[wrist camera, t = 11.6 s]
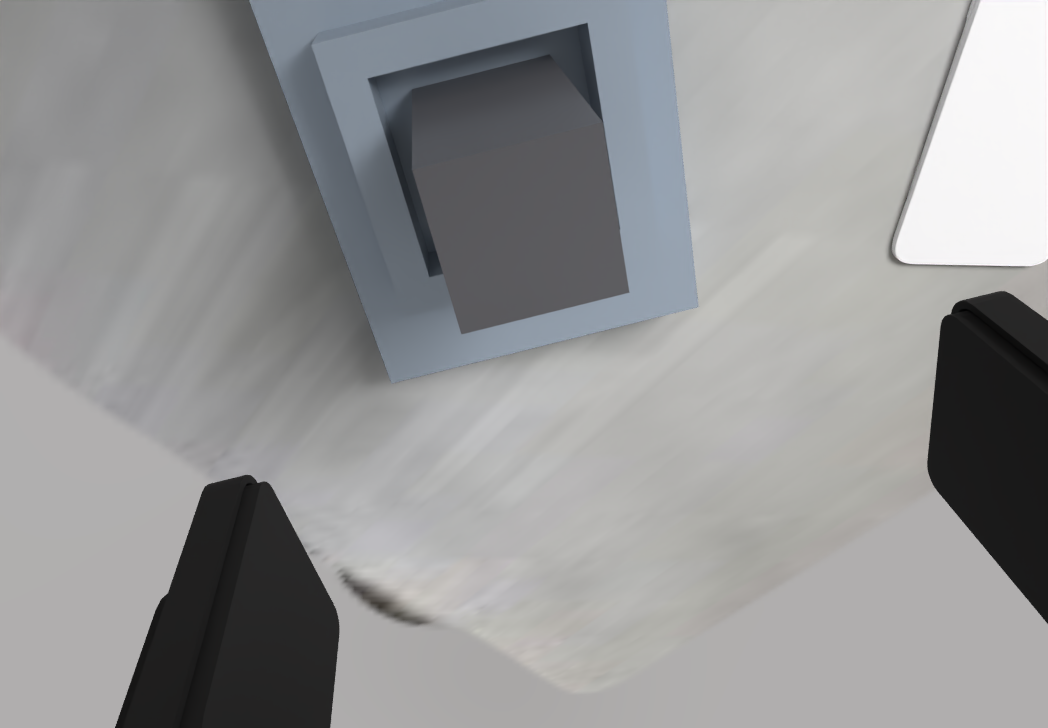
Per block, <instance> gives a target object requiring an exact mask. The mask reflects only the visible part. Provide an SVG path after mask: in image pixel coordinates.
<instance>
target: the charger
mask: <svg viewBox="0 0 1048 728" xmlns="http://www.w3.org/2000/svg"><path fill="white" fill-rule="evenodd" d="M412 171H413V175H414V178H415V181H416V185H417V188H418V191H419V195H420V198H421V201H422V205H423V208H424V211H425V215H426V218H427V221H428V225H429V228H430V231H431V235H432V238H433V241H434V245H435V248H436V252H437V255H438V258H439V262H440V265H441V268H442V272H443V275H444V278H445V282H446V285H447V288H448V292H449V295H450V298H451V302H452V305H453V308H454V312H455V315H456V318H457V322H458V325H459V328H460V332H461V335H462V334H466V333H470V332H474V331H478V330H482V329H486V328H490V327H494V326H498V325H502V324H506V323H510V322H514V321H518V320H522V319H526V318H530V317H534V316H538V315H542V314H546V313H550V312H554V311H558V310H562V309H566V308H570V307H574V306H578V305H582V304H586V303H590V302H594V301H598V300H602V299H606V298H610V297H614V296H618V295H622V294H626V293H630V292H629V286H628V280H627V273H626V267H625V261H624V254H623V248H622V242H621V235H620V229H619V223H618V216H617V210H616V204H615V197H614V191H613V185H612V178H611V172H610V166H609V159H608V153H607V146H606V140H605V134H604V127H603V122H602V121H601V119H600V118H599V117H598V116H597V114H596V113H595V112H594V111H593V109H592V108H591V107H590V105H589V104H588V103H587V102H586V100H585V99H584V98H583V96H582V95H581V94H580V93H579V91H578V90H577V89H576V88H575V86H574V85H573V84H572V82H571V81H570V80H569V79H568V77H567V76H566V75H565V73H564V72H563V71H562V70H561V68H560V67H559V66H558V65H557V63H556V62H555V61H554V59H553V58H552V57H551V56H550V54H549V55H545V56H541V57H538V58H534V59H530V60H526V61H522V62H518V63H514V64H510V65H506V66H502V67H498V68H494V69H490V70H486V71H482V72H478V73H474V74H470V75H466V76H462V77H458V78H454V79H450V80H446V81H442V82H438V83H434V84H430V85H426V86H422V87H419V88H415V89H412Z"/></svg>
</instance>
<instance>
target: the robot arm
mask: <svg viewBox="0 0 1048 728" xmlns="http://www.w3.org/2000/svg"><path fill="white" fill-rule="evenodd" d="M927 467H928V473H929V476H930V479H931V481H932V483H933V485H934V487H935V488H936V490H937V491H938V492H939V494H940V495H941V496H942V497H943V498H944V499H945V501H946V502H947V503H948V504H949V506H950V507H951V508H952V509H953V510H954V511H955V513H956V514H957V515H958V516H959V517H960V519H961V520H962V521H963V522H964V524H965V525H966V526H967V527H968V528H969V530H970V531H971V532H972V533H973V534H974V536H975V537H976V538H977V539H978V540H979V542H980V543H981V544H982V545H983V546H984V548H985V549H986V550H987V551H988V552H989V554H990V555H991V556H992V557H993V558H994V560H995V561H996V562H997V563H998V564H999V566H1000V567H1001V568H1002V569H1003V570H1004V572H1005V573H1006V574H1007V575H1008V576H1009V578H1010V579H1011V580H1012V581H1013V583H1014V584H1015V585H1016V586H1017V587H1018V588H1019V590H1020V591H1021V592H1022V593H1023V595H1024V596H1025V597H1026V598H1027V599H1028V600H1029V602H1030V603H1031V604H1032V605H1033V606H1034V608H1035V609H1036V610H1037V611H1038V613H1039V614H1040V615H1041V616H1042V617H1043V619H1044V620H1045V621H1046V622H1047V623H1048V320H1046V319H1045V318H1044V317H1042V316H1041V315H1039V314H1038V313H1037V312H1035V311H1034V310H1032V309H1031V308H1030V307H1028V306H1027V305H1026V304H1024V303H1023V302H1021V301H1020V300H1019V299H1017V298H1016V297H1014V296H1013V295H1012V294H1010V293H1007V292H1005V291H999V292H995V293H991V294H987V295H982V296H978V297H974V298H970V299H966V300H962V301H959V302H958V303H956V304H955V305H954V307H953V309H952V312H951V314H950V315H947V316H945V317H944V318H943V320H942V323H941V328H940V339H939V349H938V359H937V369H936V380H935V390H934V400H933V410H932V420H931V431H930V441H929V451H928V461H927ZM338 642H339V620H338V615H337V611H336V608H335V606H334V605H333V602H332V600H331V598H330V596H329V595H328V593H327V591H326V589H325V587H324V585H323V583H322V581H321V579H320V577H319V576H318V574H317V572H316V570H315V568H314V566H313V564H312V562H311V560H310V559H309V557H308V555H307V553H306V551H305V549H304V547H303V545H302V543H301V541H300V540H299V538H298V536H297V534H296V532H295V530H294V528H293V526H292V524H291V523H290V521H289V519H288V517H287V515H286V513H285V511H284V509H283V507H282V505H281V504H280V502H279V500H278V498H277V496H276V494H275V492H274V490H273V489H272V487H271V485H270V484H269V483H267V482H260V483H257V481H256V480H255V479H254V478H253V477H252V476H251V475H244V476H240V477H236V478H232V479H228V480H224V481H220V482H216V483H211V484H208V485H207V486H205V488H204V490H203V492H202V494H201V497H200V500H199V503H198V506H197V509H196V512H195V515H194V518H193V521H192V524H191V527H190V530H189V533H188V536H187V539H186V542H185V545H184V548H183V551H182V554H181V556H180V559H179V562H178V565H177V568H176V572H175V574H174V577H173V580H172V583H171V586H170V589H169V592H168V594H167V595H166V596H164V597H163V598H162V599H161V601H160V603H159V605H158V607H157V609H156V611H155V614H154V617H153V620H152V622H151V625H150V628H149V631H148V634H147V637H146V640H145V643H144V646H143V648H142V651H141V654H140V657H139V660H138V663H137V666H136V669H135V672H134V675H133V677H132V681H131V683H130V686H129V689H128V692H127V695H126V698H125V700H124V703H123V707H122V709H121V712H120V715H119V718H118V721H117V724H116V726H115V728H330V724H331V714H332V703H333V692H334V682H335V672H336V662H337V651H338Z"/></svg>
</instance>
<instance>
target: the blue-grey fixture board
mask: <svg viewBox="0 0 1048 728" xmlns="http://www.w3.org/2000/svg"><path fill="white" fill-rule="evenodd" d="M249 2H250V4H251V7H252V10H253V12H254V15H255V18H256V21H257V23H258V26H259V29H260V31H261V34H262V37H263V39H264V42H265V45H266V47H267V50H268V53H269V55H270V58H271V61H272V64H273V66H274V69H275V72H276V74H277V77H278V80H279V82H280V85H281V88H282V90H283V93H284V96H285V98H286V101H287V104H288V107H289V109H290V112H291V115H292V117H293V120H294V123H295V125H296V128H297V131H298V133H299V136H300V139H301V141H302V144H303V147H304V150H305V152H306V155H307V158H308V160H309V163H310V166H311V168H312V171H313V174H314V176H315V179H316V182H317V184H318V187H319V190H320V193H321V195H322V198H323V201H324V203H325V206H326V209H327V211H328V214H329V217H330V219H331V222H332V225H333V227H334V230H335V233H336V236H337V238H338V241H339V244H340V246H341V249H342V252H343V254H344V257H345V260H346V262H347V265H348V268H349V270H350V273H351V276H352V279H353V281H354V284H355V287H356V289H357V292H358V295H359V297H360V300H361V303H362V305H363V308H364V311H365V313H366V316H367V319H368V322H369V324H370V327H371V330H372V332H373V335H374V338H375V340H376V343H377V346H378V348H379V351H380V354H381V356H382V359H383V362H384V365H385V367H386V370H387V373H388V375H389V378H390V381H391V383H395V382H399V381H403V380H407V379H412V378H416V377H420V376H424V375H428V374H432V373H436V372H440V371H444V370H448V369H452V368H456V367H460V366H464V365H468V364H472V363H476V362H480V361H484V360H488V359H492V358H496V357H500V356H504V355H508V354H512V353H516V352H520V351H524V350H528V349H532V348H536V347H540V346H544V345H548V344H552V343H556V342H560V341H564V340H568V339H572V338H576V337H580V336H584V335H588V334H592V333H596V332H600V331H604V330H608V329H612V328H616V327H620V326H624V325H628V324H632V323H636V322H640V321H644V320H648V319H652V318H656V317H661V316H665V315H669V314H673V313H677V312H681V311H685V310H689V309H693V308H697V307H698V297H697V288H696V279H695V269H694V260H693V250H692V241H691V231H690V222H689V212H688V203H687V193H686V184H685V174H684V165H683V155H682V146H681V136H680V127H679V117H678V108H677V98H676V89H675V79H674V70H673V60H672V51H671V41H670V32H669V22H668V13H667V3H666V0H249ZM549 54H550V56H551V57H552V58H553V59H554V61H555V62H556V63H557V65H558V66H559V67H560V68H561V70H562V71H563V72H564V73H565V75H566V76H567V77H568V79H569V80H570V81H571V82H572V84H573V85H574V86H575V88H576V89H577V90H578V91H579V93H580V94H581V95H582V96H583V98H584V99H585V100H586V102H587V103H588V104H589V105H590V107H591V108H592V109H593V111H594V112H595V113H596V114H597V116H598V117H599V118H600V119H601V121H602V122H603V127H604V134H605V140H606V146H607V153H608V159H609V166H610V172H611V178H612V185H613V191H614V197H615V204H616V210H617V216H618V223H619V229H620V235H621V242H622V248H623V254H624V261H625V267H626V273H627V280H628V286H629V292H630V293H626V294H622V295H618V296H614V297H610V298H606V299H602V300H598V301H594V302H590V303H586V304H582V305H578V306H574V307H570V308H566V309H562V310H558V311H554V312H550V313H546V314H542V315H538V316H534V317H530V318H526V319H522V320H518V321H514V322H510V323H506V324H502V325H498V326H494V327H490V328H486V329H482V330H478V331H474V332H470V333H466V334H462V335H461V332H460V328H459V325H458V322H457V318H456V315H455V312H454V308H453V305H452V302H451V298H450V295H449V292H448V288H447V285H446V282H445V278H444V275H443V272H442V268H441V265H440V262H439V258H438V255H437V252H436V248H435V245H434V241H433V238H432V235H431V231H430V228H429V225H428V221H427V218H426V215H425V211H424V208H423V205H422V201H421V198H420V195H419V191H418V188H417V185H416V181H415V178H414V175H413V171H412V89H415V88H419V87H422V86H426V85H430V84H434V83H438V82H442V81H446V80H450V79H454V78H458V77H462V76H466V75H470V74H474V73H478V72H482V71H486V70H490V69H494V68H498V67H502V66H506V65H510V64H514V63H518V62H522V61H526V60H530V59H534V58H538V57H541V56H545V55H549Z"/></svg>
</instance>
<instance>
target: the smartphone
mask: <svg viewBox="0 0 1048 728" xmlns="http://www.w3.org/2000/svg"><path fill="white" fill-rule="evenodd" d="M966 18H967V21H966V24H965V27H964V30H963V33H962V36H961V39H960V42H959V45H958V48H957V51H956V54H955V57H954V60H953V63H952V65H951V68H950V71H949V74H948V77H947V80H946V83H945V86H944V89H943V92H942V95H941V98H940V101H939V104H938V107H937V110H936V113H935V116H934V119H933V122H932V125H931V128H930V131H929V134H928V137H927V140H926V143H925V146H924V149H923V151H922V154H921V157H920V160H919V163H918V166H917V169H916V172H915V175H914V178H913V181H914V182H913V181H912V184H913V185H912V184H911V187H912V188H911V187H910V190H911V191H910V190H909V193H910V194H909V193H908V196H909V197H908V196H907V200H906V202H905V205H904V208H903V211H902V214H901V217H900V220H899V223H898V226H897V229H896V232H895V235H894V238H893V242H892V252H893V255H894V256H895V257H896V258H897V259H898V260H900V261H901V262H904V263H908V264H933V265H985V266H1033V265H1037V264H1040V263H1042V262H1044V261H1045V260H1047V259H1048V0H972V2H971V5H970V8H969V11H968V14H967V17H966ZM920 161H921V162H920ZM919 164H920V165H919ZM918 167H919V168H918ZM917 170H918V171H917ZM916 173H917V174H916Z"/></svg>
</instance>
